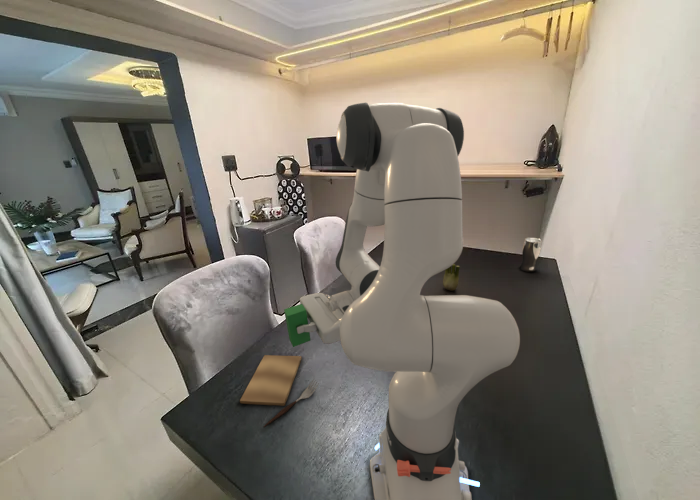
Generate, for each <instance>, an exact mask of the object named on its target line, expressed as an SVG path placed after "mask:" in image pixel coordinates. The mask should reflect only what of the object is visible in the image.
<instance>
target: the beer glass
mask: <svg viewBox="0 0 700 500" xmlns="http://www.w3.org/2000/svg"><path fill="white" fill-rule="evenodd" d="M542 243H543V240H542V239H541V238H537V237H526V238H524V242H523V245H522V249H521V250H522V251H521V254H522V261H521V263H520V267H519V269H520V270H521V271H522V272H527V273H533V272H535V271H536V264H537V260H538V259H539V256H540V253H541V249H542Z"/></svg>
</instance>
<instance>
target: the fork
mask: <svg viewBox="0 0 700 500" xmlns="http://www.w3.org/2000/svg"><path fill="white" fill-rule="evenodd" d="M319 384H320V382H318V381H316V379H315V378H313V379H312V381H311V382H310V383H309V384H308V386H307V387H306V388H305V390H303V392H302V393H301V395H300V396H299V397H298V398H297V399H296V400H293V402H290V403H289V404H288V405H285V406H284V408H282V409H281V410H279V412H278V413H276V415H274V416H273V417H272V418H271V419H269V421H268V422H266V423H265V424H264V425H263V428H265V427H267V426H269V425H270V424H272V423H273V422H275V421H276V420H277V419H279V418H280V417H282V416H283V415H285V414H286V413H287V412H288V411H290V409H291V408H292V407H294V406H295V405H296V404H297V403H298V402H299V401H300V400H306V399H309V398H311V396H312V395H313V394H314V393H315V391H316V389H317V387H318V386H319Z"/></svg>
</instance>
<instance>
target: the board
mask: <svg viewBox="0 0 700 500" xmlns="http://www.w3.org/2000/svg"><path fill="white" fill-rule="evenodd" d="M302 359H303V358H302V356H301V355H276V354H275V355H273V354H270V355H269V354H264V356H263V357H262V359H261V360H260V363H259V365H258V366H257V368H256V370H255V372H254V373H253V375H252V377H251V379H250V380H249V383H248V384H247V386H246V388H245V390H244V392H243V394H242V395H241V398H240V399H239V404H244V405H264V406H283V407H286V403H287V401H288V398H289V396H290V392H291V389H292V387H293V384H294V381H295V380H296V379H295V378H296V375H297V373H298V370H299V367H300V364H301V362H302Z"/></svg>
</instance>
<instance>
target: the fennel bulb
mask: <svg viewBox="0 0 700 500" xmlns="http://www.w3.org/2000/svg"><path fill="white" fill-rule="evenodd" d="M460 269H461V266H460V265H456V263H454V264H453V265H452V266H450V267H449V268H447V269H445V270H444V275H443V279H442V286H443V288H444V289H445V290H446V291H451V292H453V291H456V290H457V288H458V286H459V279H460Z"/></svg>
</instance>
